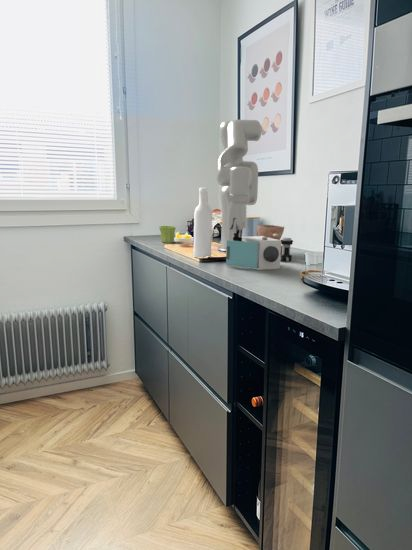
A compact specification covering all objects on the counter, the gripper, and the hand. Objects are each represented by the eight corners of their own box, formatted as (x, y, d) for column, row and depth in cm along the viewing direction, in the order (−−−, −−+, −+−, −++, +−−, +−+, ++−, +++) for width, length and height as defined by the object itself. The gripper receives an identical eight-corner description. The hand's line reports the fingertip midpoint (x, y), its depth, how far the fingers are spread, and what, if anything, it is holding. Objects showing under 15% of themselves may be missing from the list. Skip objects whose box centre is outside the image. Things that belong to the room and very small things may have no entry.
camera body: (239, 263, 169) (240, 234, 167) (260, 262, 173) (261, 234, 171) (260, 270, 155) (261, 239, 153) (282, 269, 160) (283, 238, 157)
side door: (225, 264, 162) (226, 240, 160) (226, 264, 163) (227, 240, 161) (257, 268, 155) (258, 243, 153) (258, 268, 156) (260, 243, 154)
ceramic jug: (290, 260, 179) (292, 227, 176) (258, 260, 177) (260, 227, 174) (277, 254, 197) (279, 224, 194) (247, 254, 194) (249, 223, 191)
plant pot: (156, 241, 228) (156, 225, 226) (172, 240, 232) (172, 225, 230) (162, 243, 219) (162, 227, 218) (178, 243, 223) (178, 227, 222)
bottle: (196, 258, 177) (198, 187, 171) (190, 255, 184) (191, 187, 178) (214, 258, 180) (215, 188, 174) (207, 255, 187) (208, 187, 181)
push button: (281, 262, 173) (282, 239, 170) (274, 260, 177) (275, 237, 175) (294, 262, 175) (295, 238, 173) (287, 259, 180) (288, 237, 178)
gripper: (234, 199, 166) (233, 244, 170) (224, 200, 152) (222, 249, 156) (252, 199, 163) (250, 245, 167) (243, 200, 150) (241, 250, 154)
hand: (237, 247), depth 162 cm, fingers closed
